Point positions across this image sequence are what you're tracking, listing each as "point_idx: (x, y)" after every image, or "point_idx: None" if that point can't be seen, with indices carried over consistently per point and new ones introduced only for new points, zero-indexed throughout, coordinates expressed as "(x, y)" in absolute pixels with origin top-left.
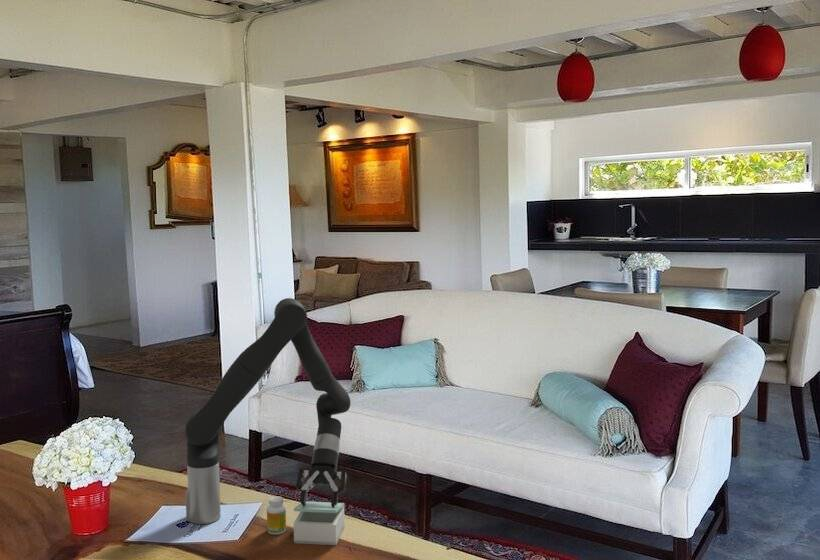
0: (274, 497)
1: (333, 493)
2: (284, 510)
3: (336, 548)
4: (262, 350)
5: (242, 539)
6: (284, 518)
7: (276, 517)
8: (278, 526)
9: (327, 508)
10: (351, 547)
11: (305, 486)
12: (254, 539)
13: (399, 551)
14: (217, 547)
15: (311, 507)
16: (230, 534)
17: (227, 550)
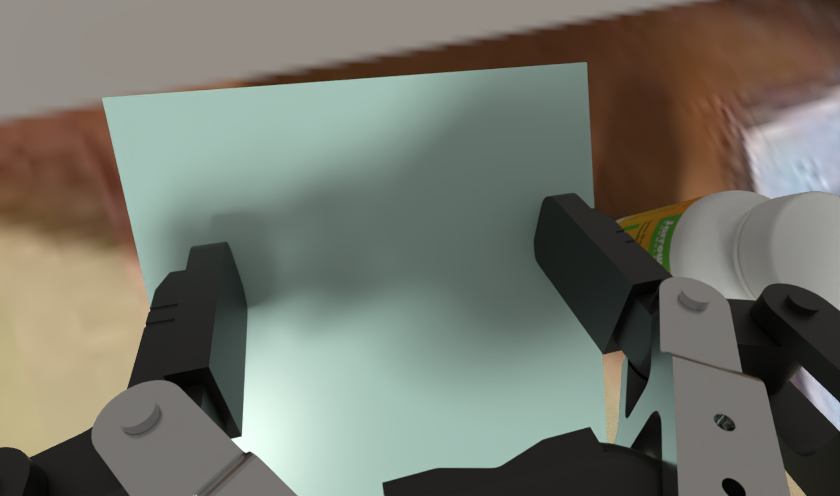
0: None
1: (195, 353)
2: (673, 256)
3: None
4: None
5: (725, 138)
6: None
7: (677, 204)
8: (624, 222)
9: (255, 176)
10: (102, 183)
11: (694, 326)
12: (676, 151)
13: None
14: (778, 42)
15: (441, 167)
16: (799, 174)
17: (727, 23)
